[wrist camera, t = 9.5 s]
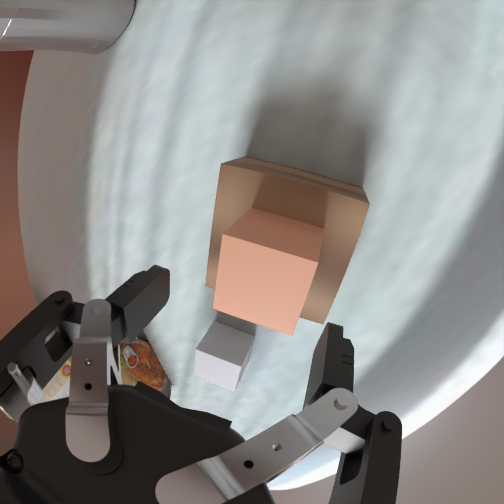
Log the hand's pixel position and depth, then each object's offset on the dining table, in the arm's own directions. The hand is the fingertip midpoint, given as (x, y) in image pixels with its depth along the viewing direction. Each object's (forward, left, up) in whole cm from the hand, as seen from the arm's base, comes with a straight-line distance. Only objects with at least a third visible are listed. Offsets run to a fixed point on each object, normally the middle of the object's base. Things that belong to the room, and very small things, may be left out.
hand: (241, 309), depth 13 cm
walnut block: (0, 0, -12) cm, 12 cm away
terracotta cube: (0, 0, -7) cm, 7 cm away
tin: (+28, -15, -13) cm, 34 cm away
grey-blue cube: (+16, -3, -12) cm, 20 cm away
